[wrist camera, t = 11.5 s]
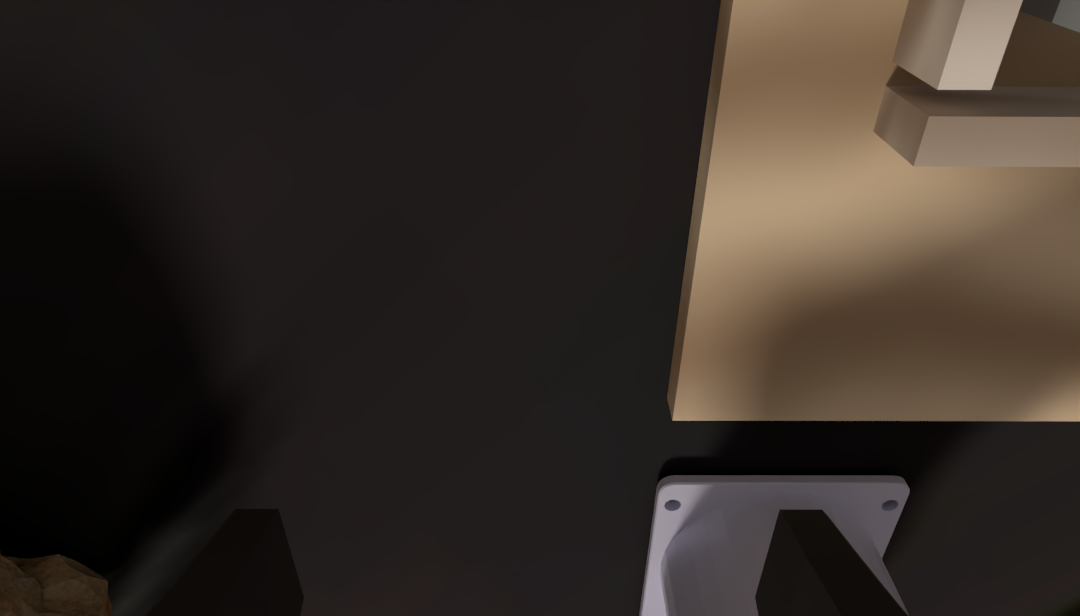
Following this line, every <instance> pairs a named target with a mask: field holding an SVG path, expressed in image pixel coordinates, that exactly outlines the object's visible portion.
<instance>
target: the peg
mask: <svg viewBox="0 0 1080 616" xmlns="http://www.w3.org/2000/svg"><path fill="white" fill-rule="evenodd" d="M1019 11H1020V12H1023V13H1026V14H1029V15H1032V16H1034V17H1037V18H1040V19H1043V20H1046V21H1049V22H1051V23H1054V24H1057V25H1060V26H1063V27H1066V28H1068V29H1071V30H1074V31H1077V32H1080V0H1023V1H1022V4H1021V7H1020V10H1019Z"/></svg>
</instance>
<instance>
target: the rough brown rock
mask: <svg viewBox="0 0 1080 616" xmlns="http://www.w3.org/2000/svg"><path fill="white" fill-rule="evenodd" d="M0 616H112V606H111V603H110V599H109V596H108V581H107V580H106V579H105V578H104V577H102V576H101V575H99V574H98V573H96V572H94V571H93V570H91V569H90V568H88V567H86V566H85V565H83V564H81V563H79V562H77V561H75V560H73V559H70V558H68V557H65V556H63V555H60V554H56V555H50V556H44V557H38V558H32V559H25V558H16V557H10V556H4V555H1V551H0Z"/></svg>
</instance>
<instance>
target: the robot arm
mask: <svg viewBox="0 0 1080 616" xmlns="http://www.w3.org/2000/svg"><path fill="white" fill-rule="evenodd" d="M909 492H910V489H909V487H908V485H907V483H906V482H905V480H904V479H903V478H902V477H900V476H894V475H672V476H667V477H665V478H663V479H662V480H660V481H659V483H658V485H657V489H656V497H655V504H654V511H653V518H652V526H651V533H650V540H649V547H648V555H647V562H646V569H645V576H644V584H643V591H642V598H641V605H640V613H639V616H909V615H908V613H907V610H906V608H905V606H904V604H903V602H902V600H901V598H900V596H899V594H898V592H897V590H896V588H895V585H894V583H893V581H892V579H891V577H890V575H889V573H888V571H887V569H886V567H885V565H884V563H883V561H882V557H883V555H884V553H885V550H886V548H887V545H888V543H889V541H890V538H891V536H892V534H893V531H894V529H895V526H896V524H897V522H898V519H899V517H900V515H901V512H902V510H903V507H904V505H905V503H906V500H907V498H908V496H909ZM669 500H674V501H669ZM303 598H304V596H303V593H302V589H301V586H300V583H299V579H298V576H297V572H296V569H295V565H294V562H293V558H292V555H291V551H290V548H289V544H288V541H287V537H286V534H285V530H284V527H283V524H282V520H281V517H280V513H279V510H278V509H236V510H234V511H233V512H232V513H231V514H230V515H229V516H228V517H227V519H226V520H225V521H224V522H223V523H222V525H221V526H220V527H219V528H218V529H217V531H216V532H215V533H214V534H213V536H212V537H211V538H210V539H209V540H208V542H207V543H206V544H205V545H204V546H203V548H202V549H201V550H200V551H199V553H198V554H197V555H196V556H195V557H194V559H193V560H192V561H191V562H190V563H189V565H188V566H187V567H186V568H185V569H184V571H183V572H182V573H181V574H180V575H179V577H178V578H177V579H176V580H175V581H174V582H173V584H172V585H171V586H170V587H169V588H168V590H167V591H166V592H165V593H164V594H163V595H162V597H161V598H160V599H159V600H158V601H157V602H156V604H155V605H154V606H153V607H152V608H151V609H150V610H149V612H148V613H147V614H146V615H145V616H300V613H301V608H302V603H303Z"/></svg>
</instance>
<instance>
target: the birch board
mask: <svg viewBox="0 0 1080 616" xmlns="http://www.w3.org/2000/svg"><path fill="white" fill-rule="evenodd" d="M1022 1H1023V0H721V5H720V12H719V19H718V27H717V34H716V41H715V49H714V56H713V63H712V71H711V78H710V86H709V93H708V100H707V108H706V115H705V122H704V130H703V137H702V144H701V152H700V159H699V166H698V174H697V181H696V189H695V196H694V203H693V211H692V218H691V225H690V233H689V240H688V247H687V255H686V262H685V270H684V277H683V284H682V292H681V299H680V306H679V314H678V321H677V328H676V336H675V343H674V350H673V358H672V365H671V373H670V380H669V387H668V395H667V399H668V404H669V408H670V412H671V416H672V421H1080V32H1077V31H1074V30H1071V29H1068V28H1066V27H1063V26H1060V25H1057V24H1054V23H1051V22H1049V21H1046V20H1043V19H1040V18H1037V17H1034V16H1032V15H1029V14H1026V13H1023V12H1020V11H1019V10H1020V7H1021V4H1022Z"/></svg>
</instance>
